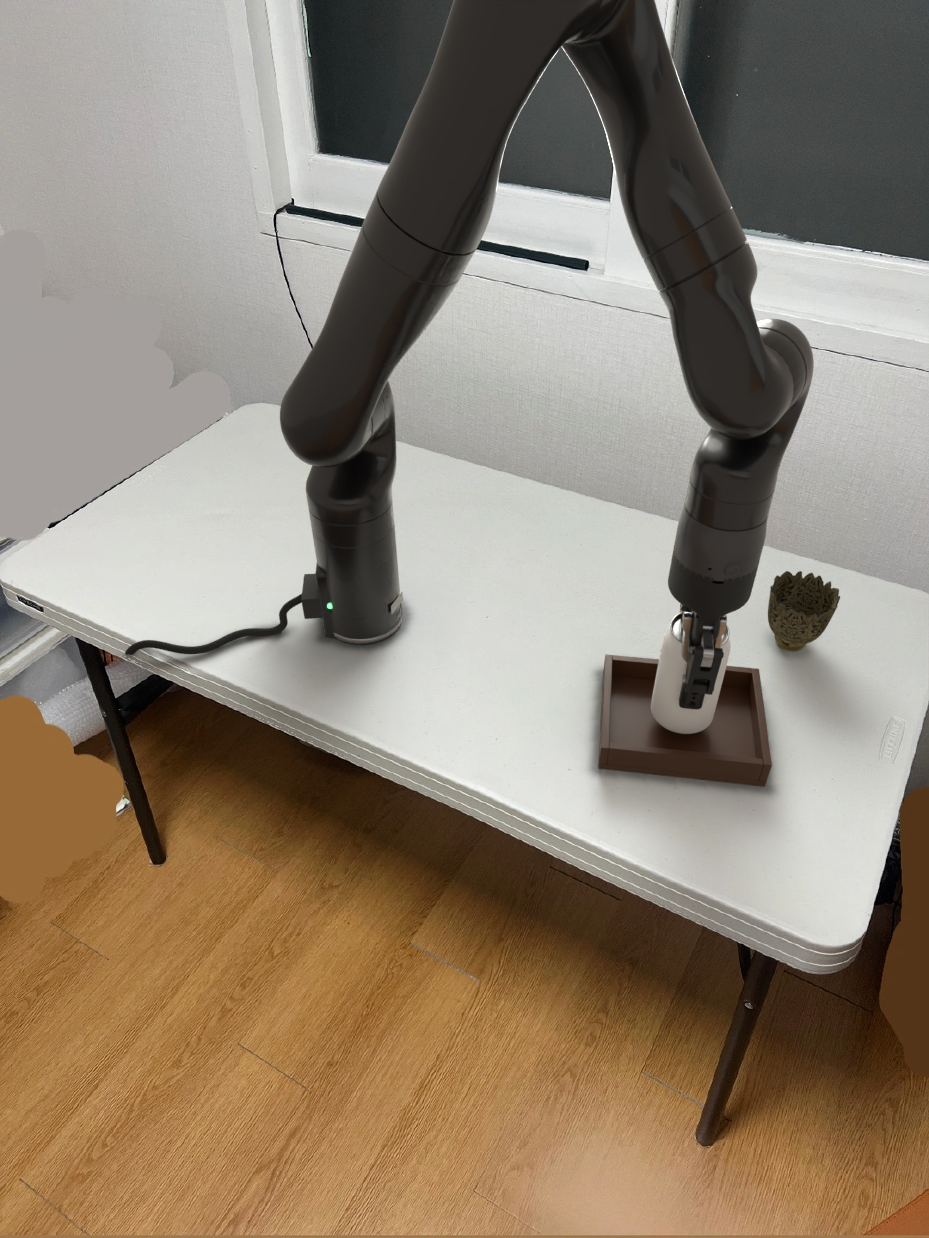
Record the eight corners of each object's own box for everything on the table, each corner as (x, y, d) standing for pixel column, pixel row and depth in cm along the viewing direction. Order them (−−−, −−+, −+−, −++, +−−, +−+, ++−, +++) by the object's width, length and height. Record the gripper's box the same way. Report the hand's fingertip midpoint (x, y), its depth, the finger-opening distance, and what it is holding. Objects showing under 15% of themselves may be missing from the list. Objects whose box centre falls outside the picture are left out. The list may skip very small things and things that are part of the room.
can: (712, 740, 91) (735, 656, 83) (648, 731, 92) (664, 647, 84) (712, 695, 96) (733, 611, 88) (651, 687, 97) (666, 603, 89)
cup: (811, 673, 101) (830, 621, 96) (748, 650, 104) (762, 598, 98) (829, 635, 106) (848, 583, 100) (768, 614, 108) (783, 562, 103)
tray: (598, 768, 91) (600, 747, 89) (602, 675, 101) (605, 654, 99) (765, 786, 89) (772, 765, 87) (753, 689, 99) (759, 668, 97)
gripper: (672, 501, 85) (650, 630, 96) (676, 597, 75) (651, 730, 86) (753, 507, 84) (721, 636, 95) (768, 605, 74) (731, 738, 85)
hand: (688, 680), depth 90 cm, fingers closed on can, 6 cm apart
